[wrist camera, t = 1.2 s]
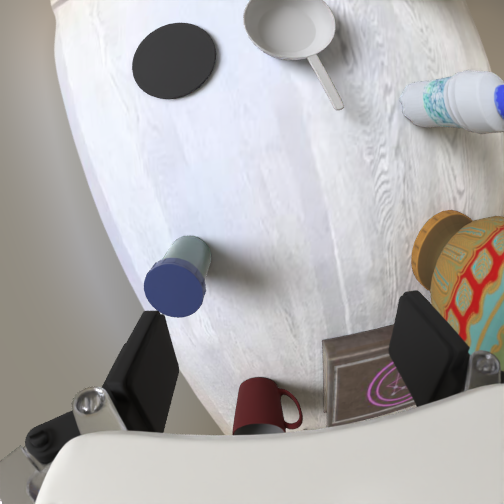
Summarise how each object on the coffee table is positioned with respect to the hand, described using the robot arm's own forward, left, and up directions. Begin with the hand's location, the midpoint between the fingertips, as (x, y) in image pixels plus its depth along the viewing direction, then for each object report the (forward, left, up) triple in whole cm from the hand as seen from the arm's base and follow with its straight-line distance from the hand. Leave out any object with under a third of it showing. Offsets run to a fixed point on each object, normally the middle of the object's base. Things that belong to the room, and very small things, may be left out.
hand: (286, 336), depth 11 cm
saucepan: (-18, +5, -28) cm, 34 cm away
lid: (+9, -11, -18) cm, 23 cm away
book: (+34, +25, -28) cm, 51 cm away
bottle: (-12, +21, -28) cm, 37 cm away
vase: (+10, +29, -28) cm, 42 cm away
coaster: (-18, -11, -28) cm, 35 cm away
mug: (+37, -1, -28) cm, 46 cm away
